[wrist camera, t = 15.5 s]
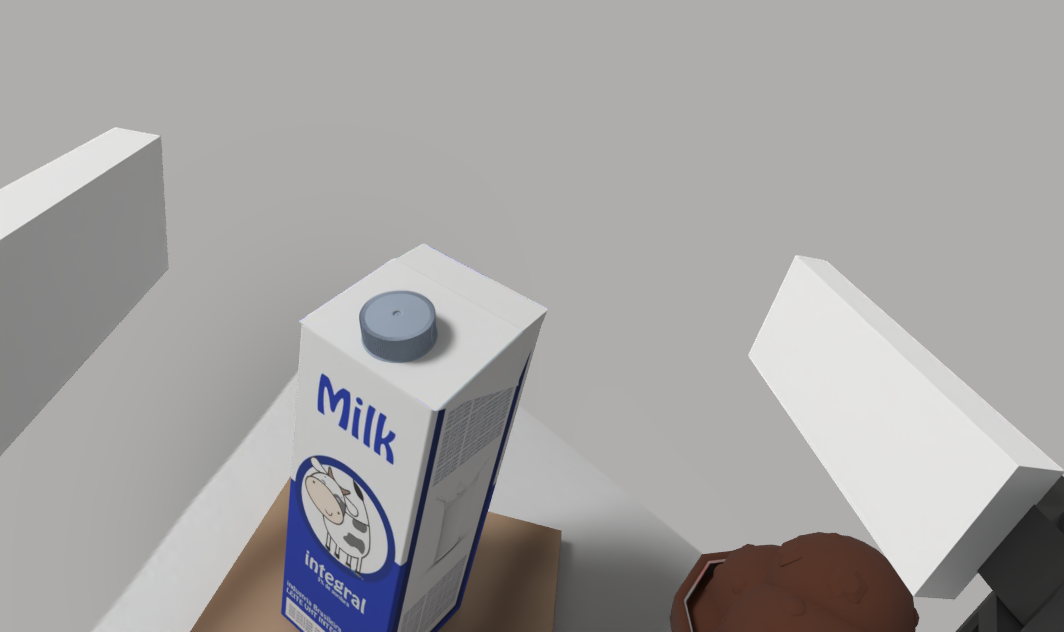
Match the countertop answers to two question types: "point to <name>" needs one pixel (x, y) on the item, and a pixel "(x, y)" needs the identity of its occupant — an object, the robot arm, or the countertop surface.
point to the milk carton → (400, 442)
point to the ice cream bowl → (795, 590)
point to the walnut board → (475, 628)
